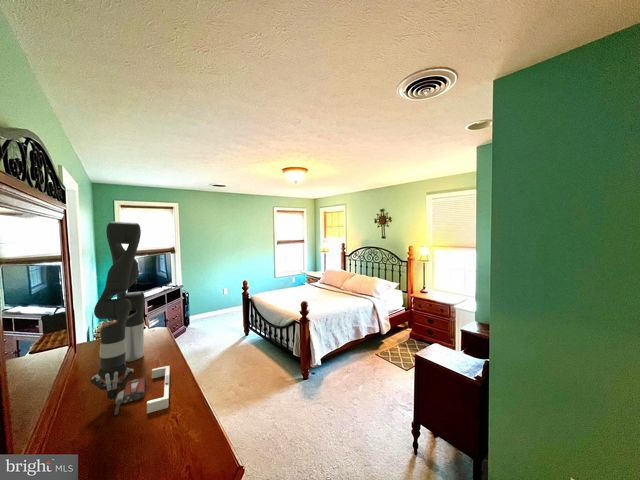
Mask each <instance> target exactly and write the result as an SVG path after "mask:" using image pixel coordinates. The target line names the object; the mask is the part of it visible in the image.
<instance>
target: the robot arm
mask: <svg viewBox="0 0 640 480" xmlns="http://www.w3.org/2000/svg"><path fill="white" fill-rule="evenodd" d="M141 235H142V230H141V226H140V224H139V223H138V222H131V221H130V222H128V221H127V222H126V221H110V222H108V223H107V225H106V239H107V244H108V246H109V250H110V254H111V261H112V264H111V266H110V267H109V269H108V271H107V275H106V280H105V285H104V288H103V291H102V293H101V295H100V296H99V299H98V300H97V301H96V304H95V305H94V308H93V314H94V317H95V318H96V319H98V320H107V319H110V320H111V319H117V321H115V322H112V323H108V324H106V325H104V326H102V327H101V329H100V345H99V352H98V353H99V354H98V355H99V369H98V371H97V374H95V375H93V376H92V377H91V379H90V380H89V381H90V383H91V384H92V385H94V386H95V387H97V389H100V391H105V390H106V391H107V399H109V401H112V400H116V398H117V395H118V393H119V388H120V387H122V386H124V384H126V383H127V382H128V380H129V378H130V377H131V376H132V375H133V373H134V370H135V369H134V368H133V367H132V368H129V367H128V365H127V363H129V362H133V361H134V362H135V361H137V360H139V359H142V358H143V357H144V354H145V353H144V350H145V349H144V343H145V342H144V341H145V340H144V339H145V337H144V336H145V335H144V332H145V328H144V327H145V326H144V325H145V321H144V318H145V317H144V316H145V301H146V300H145V293H144V292H143V291H133V292H132V291H131V292H128V290H129V288H130V287H131V286H132V285H133V284H134V283H135V282H136V281H137V279H138V278H139V277H140V276H139V275H140V269H139V262H138V261H137V260H136V258H135V257H136V255H137V251H138V247H139V245H140V241H141ZM123 245H128V246H127V248H126V249H125V248H124V247H123ZM115 296H116V298H113V297H115ZM132 311H133V312H134V311H136V312H134V313H132V314H130V312H132ZM126 362H127V363H126ZM123 374H124V376H123ZM122 376H123V377H122ZM120 378H122V379H121V380H120ZM119 380H120V381H119Z"/></svg>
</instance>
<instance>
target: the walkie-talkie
mask: <svg viewBox="0 0 640 480" xmlns="http://www.w3.org/2000/svg"><path fill="white" fill-rule="evenodd" d="M124 384H125V385H124V389H123V390H121V391H120V392H118V395H117V397H115V405H116V406H115V409H114V415H115V416H117V415H118V414H119V410H120V406H121V404H126V403H129V402H133V401H139V400H140V399H143V398H144V397H145V392H146V378H145V377H143V376H142V377H137V378H134V379H130V380H129V379H128V380H127V381H126V382H125V383H124Z"/></svg>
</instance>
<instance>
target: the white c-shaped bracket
mask: <svg viewBox="0 0 640 480" xmlns="http://www.w3.org/2000/svg"><path fill="white" fill-rule="evenodd" d="M170 368H171V367H170V365H165V366H161V367H156V368H152V369H151V371H152V372H151V379H157V378H162V377H164V385H163V386H164V387H163V390H164V391H163V397H159V398H155V399H151V400H148V401H147V402H146V414H150V413H154V412H156V411H161V410H165V409H168V408H169V405H170V404H169V398H170V397H169V396H170V375H171V374H170Z"/></svg>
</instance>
